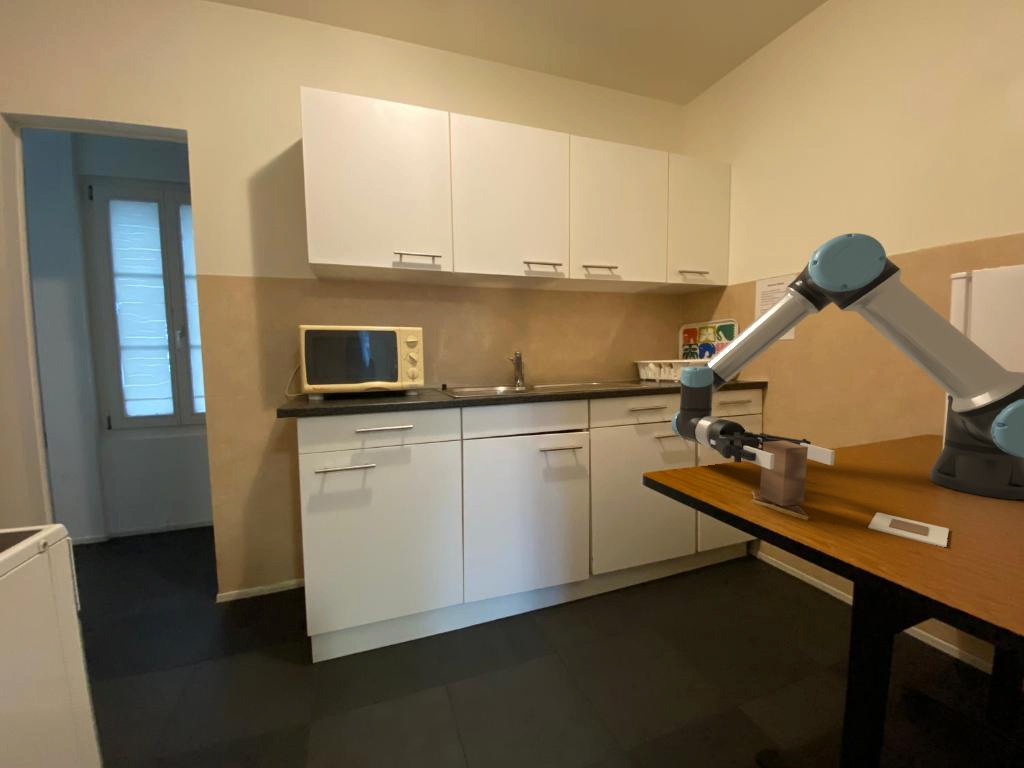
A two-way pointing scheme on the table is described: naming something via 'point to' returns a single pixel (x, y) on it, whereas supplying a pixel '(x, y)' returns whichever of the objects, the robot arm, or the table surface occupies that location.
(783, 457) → the walnut block
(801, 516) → the shard
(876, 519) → the swatch
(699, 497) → the table surface
